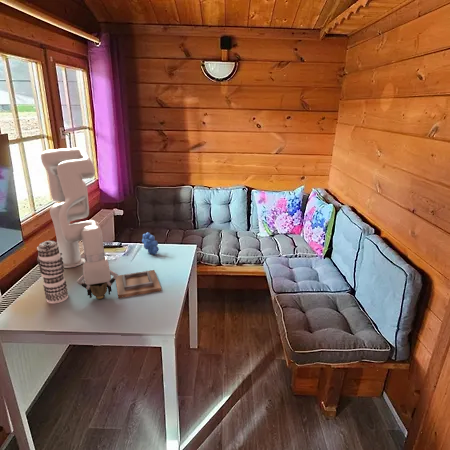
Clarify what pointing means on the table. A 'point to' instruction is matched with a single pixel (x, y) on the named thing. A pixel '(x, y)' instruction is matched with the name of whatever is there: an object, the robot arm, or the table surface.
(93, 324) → the table surface
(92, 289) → the cup
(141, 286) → the mounting board
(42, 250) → the decorative candle
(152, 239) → the grapes
